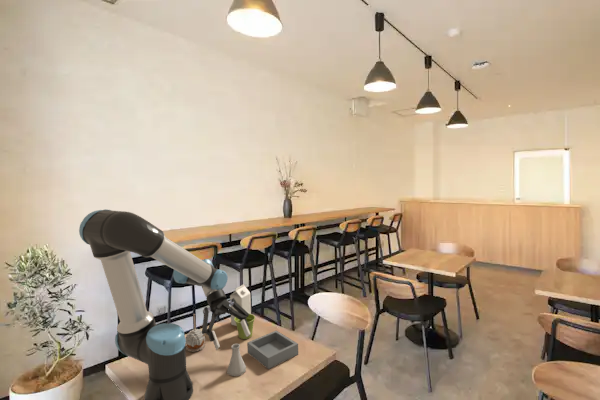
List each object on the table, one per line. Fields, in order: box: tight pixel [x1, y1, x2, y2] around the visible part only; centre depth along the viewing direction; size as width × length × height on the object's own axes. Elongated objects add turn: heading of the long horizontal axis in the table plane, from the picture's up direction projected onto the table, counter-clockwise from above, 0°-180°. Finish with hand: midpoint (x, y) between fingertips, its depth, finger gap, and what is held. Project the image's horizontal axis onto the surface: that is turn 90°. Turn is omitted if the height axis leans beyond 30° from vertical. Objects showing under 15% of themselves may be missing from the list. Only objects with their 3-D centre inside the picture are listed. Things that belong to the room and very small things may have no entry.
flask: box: [226, 343, 247, 377], centre depth 122 cm, size 7×7×10 cm
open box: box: [246, 330, 299, 370], centre depth 133 cm, size 15×15×4 cm
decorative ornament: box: [185, 313, 206, 352], centre depth 138 cm, size 8×8×15 cm
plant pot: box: [234, 313, 256, 340], centre depth 148 cm, size 9×9×9 cm
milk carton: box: [229, 283, 252, 327], centre depth 159 cm, size 7×7×19 cm
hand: (233, 341), depth 126 cm, fingers open, 13 cm apart
